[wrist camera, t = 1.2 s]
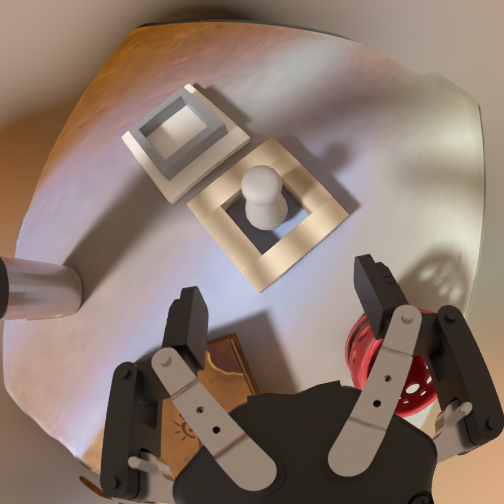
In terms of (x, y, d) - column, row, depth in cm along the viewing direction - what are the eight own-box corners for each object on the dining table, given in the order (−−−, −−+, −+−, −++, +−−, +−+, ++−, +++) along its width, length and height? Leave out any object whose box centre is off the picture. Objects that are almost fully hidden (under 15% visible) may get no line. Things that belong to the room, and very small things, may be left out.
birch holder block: (260, 292, 39) (258, 293, 36) (192, 209, 41) (186, 204, 38) (344, 220, 39) (349, 215, 36) (272, 145, 41) (271, 136, 38)
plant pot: (320, 341, 37) (337, 363, 25) (391, 286, 37) (431, 285, 25) (363, 404, 35) (389, 440, 23) (428, 351, 35) (471, 368, 23)
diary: (132, 363, 40) (114, 372, 34) (235, 331, 39) (228, 338, 33) (188, 473, 36) (178, 490, 30) (288, 454, 35) (288, 473, 30)
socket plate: (172, 204, 42) (161, 196, 38) (124, 140, 45) (113, 129, 40) (250, 141, 42) (247, 127, 38) (190, 87, 45) (184, 73, 40)
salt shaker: (265, 187, 40) (259, 145, 28) (295, 211, 40) (301, 177, 27) (239, 216, 40) (220, 184, 27) (268, 241, 39) (263, 220, 27)
